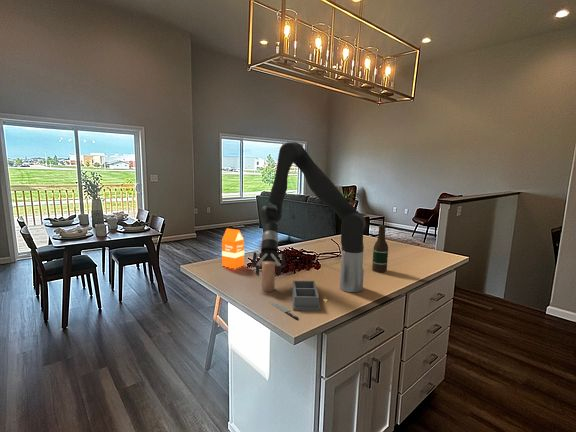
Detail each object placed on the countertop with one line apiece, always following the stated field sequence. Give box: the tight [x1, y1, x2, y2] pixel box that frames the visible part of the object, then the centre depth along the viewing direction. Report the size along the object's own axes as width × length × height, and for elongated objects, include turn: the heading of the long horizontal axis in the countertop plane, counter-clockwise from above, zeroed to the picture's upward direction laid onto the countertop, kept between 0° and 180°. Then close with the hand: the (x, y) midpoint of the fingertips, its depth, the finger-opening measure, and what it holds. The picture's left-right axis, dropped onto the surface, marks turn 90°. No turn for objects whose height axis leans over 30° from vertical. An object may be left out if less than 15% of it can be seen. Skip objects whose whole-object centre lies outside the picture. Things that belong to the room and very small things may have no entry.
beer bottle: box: [371, 224, 389, 274], centre depth 160 cm, size 8×8×24 cm
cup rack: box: [291, 280, 321, 312], centre depth 123 cm, size 10×20×4 cm, turn 1°
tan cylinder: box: [261, 261, 276, 293], centre depth 132 cm, size 6×6×12 cm
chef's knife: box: [268, 301, 299, 321], centre depth 114 cm, size 19×1×3 cm
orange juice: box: [221, 227, 245, 270], centre depth 162 cm, size 8×9×20 cm
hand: (268, 275), depth 130 cm, fingers open, 8 cm apart
